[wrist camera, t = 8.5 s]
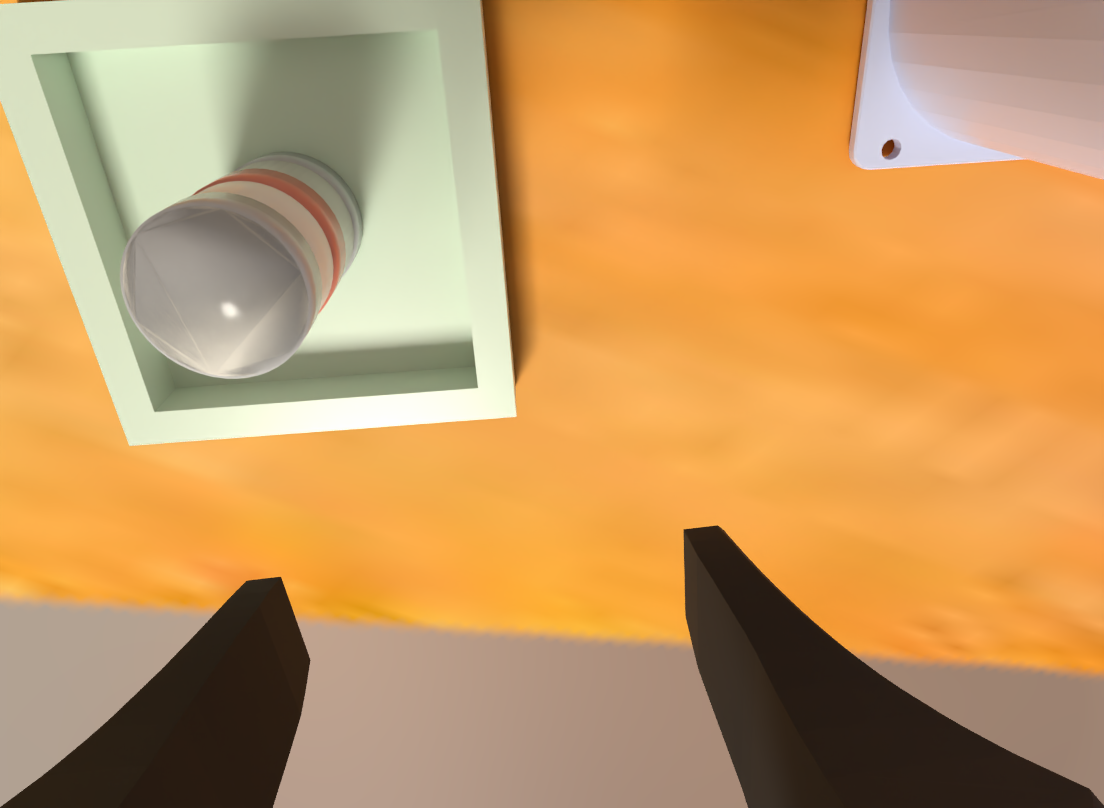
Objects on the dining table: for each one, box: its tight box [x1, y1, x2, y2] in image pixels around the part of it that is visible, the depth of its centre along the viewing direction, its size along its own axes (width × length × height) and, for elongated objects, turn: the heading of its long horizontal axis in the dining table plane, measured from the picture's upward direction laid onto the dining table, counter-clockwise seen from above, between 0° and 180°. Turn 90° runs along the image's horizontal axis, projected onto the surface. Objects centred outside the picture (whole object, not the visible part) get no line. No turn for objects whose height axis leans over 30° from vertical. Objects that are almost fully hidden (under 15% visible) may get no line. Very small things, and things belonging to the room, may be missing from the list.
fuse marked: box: [120, 152, 363, 379], centre depth 17 cm, size 4×4×6 cm
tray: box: [0, 0, 516, 446], centre depth 19 cm, size 11×11×2 cm
